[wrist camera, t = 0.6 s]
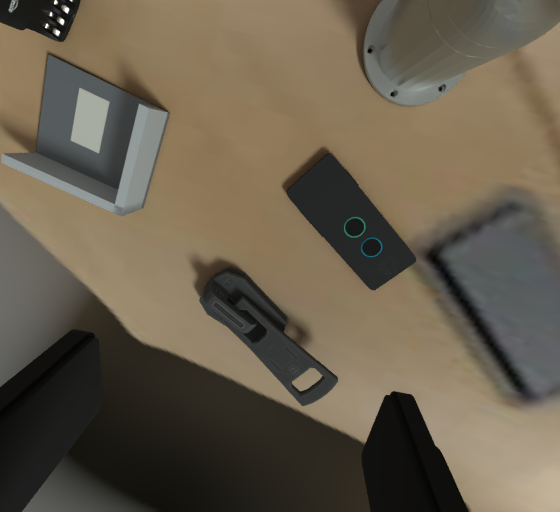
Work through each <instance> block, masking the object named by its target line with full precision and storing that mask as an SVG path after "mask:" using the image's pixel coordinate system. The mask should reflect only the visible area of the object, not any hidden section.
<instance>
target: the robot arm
mask: <svg viewBox="0 0 560 512" xmlns="http://www.w3.org/2000/svg"><path fill="white" fill-rule="evenodd" d="M559 22H560V0H382V1H381V2H380V3H379V4H378V6H377V8H376V9H375V11H374V13H373V15H372V17H371V19H370V21H369V23H368V26H367V29H366V33H365V36H364V42H363V64H364V69H365V73H366V75H367V78H368V80H369V82H370V84H371V85H372V87H373V88H374V90H375V91H376V92H377V93H378V94H379V95H380V96H381V97H382V98H384V99H386V100H387V101H389V102H391V103H394V104H397V105H401V106H417V105H422V104H426V103H429V102H431V101H433V100H436V99H438V98H440V97H441V96H443V95H445V94H446V93H447V92H449V91H450V90H451V89H452V88H453V87H454V86H455V85H456V84H457V83H458V82H459V81H460V80H461V78H462V77H463V76H464V75H465V73H466V72H467V71H468V70H470V69H473V68H475V67H477V66H480V65H482V64H484V63H486V62H489V61H491V60H493V59H496V58H498V57H500V56H502V55H505V54H507V53H509V52H512V51H514V50H516V49H518V48H520V47H523V46H525V45H527V44H529V43H531V42H532V41H534V40H536V39H537V38H539V37H541V36H542V35H544V34H545V33H547V32H548V31H549V30H551V29H552V28H553V27H555V26H556V25H557V24H558V23H559ZM369 49H371V51H372V52H371V53H370V54H369V53H368V50H369ZM439 87H440V88H441V91H439V90H438V88H439ZM391 92H393V93H394V96H393V97H392V96H391V95H390V94H391ZM101 405H102V383H101V366H100V351H99V340H98V339H96V338H95V335H94V334H93V333H91V332H86V331H81V330H75V329H74V330H71V331H70V332H68V333H67V334H66V335H64V336H63V337H62V338H61V339H60V340H58V341H57V342H56V343H55V344H53V345H52V346H51V347H50V348H48V349H47V350H46V351H45V352H43V353H42V354H41V355H40V356H38V357H37V358H36V359H35V360H33V361H32V362H31V363H30V364H28V365H27V366H26V367H25V368H24V369H22V370H21V371H20V372H18V373H17V374H16V375H15V376H14V377H12V378H11V379H10V380H9V381H7V382H6V383H5V384H4V385H2V386H1V387H0V512H22V510H23V509H24V508H25V507H26V505H27V504H28V503H29V502H30V500H31V499H32V498H33V496H34V495H35V493H36V492H37V491H38V490H39V488H40V487H41V486H42V485H43V483H44V482H45V481H46V479H47V478H48V477H49V475H50V474H51V472H52V471H53V470H54V469H55V468H56V466H57V465H58V464H59V462H60V461H61V460H62V458H63V457H64V456H65V454H66V453H67V452H68V451H69V449H70V448H71V447H72V445H73V444H74V442H75V441H76V440H77V439H78V437H79V436H80V435H81V433H82V432H83V431H84V429H85V428H86V427H87V426H88V424H89V423H90V422H91V420H92V419H93V418H94V416H95V415H96V414H97V412H98V411H99V409H100V407H101ZM362 467H363V471H364V477H365V483H366V488H367V494H368V499H369V504H370V510H371V512H468V510H467V507H466V505H465V503H464V501H463V499H462V496H461V494H460V492H459V490H458V487H457V485H456V483H455V481H454V479H453V476H452V474H451V472H450V470H449V467H448V465H447V463H446V461H445V459H444V456H443V454H442V453H441V451H440V450H439V449H438V448H437V447H436V446H435V444H434V442H433V440H432V437H431V435H430V433H429V430H428V428H427V426H426V424H425V421H424V419H423V417H422V414H421V412H420V410H419V408H418V405H417V403H416V401H415V399H414V397H413V396H412V395H411V394H406V393H400V392H395V391H393V392H391V394H390V395H386V396H385V397H384V400H383V402H382V404H381V407H380V409H379V412H378V414H377V417H376V419H375V422H374V424H373V426H372V429H371V431H370V434H369V436H368V439H367V441H366V443H365V446H364V449H363V451H362Z"/></svg>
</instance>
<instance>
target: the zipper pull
mask: <svg viewBox="0 0 560 512" xmlns="http://www.w3.org/2000/svg"><path fill="white" fill-rule="evenodd" d="M199 301H200V303H201V304H202V306H203V308H204V309H205V311H206V313H207V314H208V315H209V316H211V317H212V318H214V319H216V320H217V321H219V322H220V323H222V324H223V325H225V326H227V327H228V328H229V329H230V330H231V331H232V332H233V333H234V334H235V335H236V336H237V337H238V338H239V339H240V340H241V341H243V342H244V343H245V344H246V345H247V346H248V347H249V348H250V349H251V350H252V352H253V353H254V354H255V355H256V356H257V357H258V358H259V359H260V360H261V361H262V362H263V364H264V365H265V366H266V367H267V368H268V369H269V370H270V371H271V372H272V373H273V374H274V376H275V377H276V378H277V379H278V380H279V381H280V382H281V383H282V384H283V385H284V386H285V388H286V389H287V390H288V391H289V392H290V393H291V394H292V395H293V396H294V398H295V399H296V400H297V401H298V402H299V403H300V404H301V405H302V406H305V405H308V404H311V403H314V402H315V401H317V400H319V399H320V398H322V397H323V396H325V395H326V394H327V393H328V392H330V391H331V390H332V389H333V387H334V386H335V385H336V383H337V382H338V377H337V376H335V375H334V374H333V373H332V372H331V371H330V370H328V369H327V368H326V367H325V366H324V365H322V364H321V363H320V362H319V361H317V360H316V359H315V358H314V357H312V356H311V355H310V354H309V353H308V352H306V351H305V350H304V349H303V348H302V347H300V346H299V345H298V344H297V343H296V342H294V341H293V340H292V339H291V338H290V337H288V336H287V335H286V334H285V333H284V330H285V327H286V320H287V317H286V315H285V314H284V313H283V312H282V311H281V310H280V309H279V308H278V307H277V306H276V305H275V304H274V303H273V302H272V301H271V299H270V298H269V297H268V296H267V295H266V294H265V293H264V292H263V291H262V290H261V289H260V288H259V287H258V286H257V285H256V284H255V283H254V282H253V280H252V279H251V278H250V277H249V276H248V275H247V274H246V273H244V272H241V271H238V270H236V269H233V268H230V267H229V268H227V269H225V270H223V271H221V272H219V273H216V274H215V275H214V276H213V277H212V278H211V279H210V281H209V282H208V283H207V284H206V286H205V287H204V290H203V292H202V295H201V297H200V300H199ZM309 368H315V369H316V370H318V371H319V372H320V373H321V374H322V375H323V376H322V378H321V379H320V380H319V381H318V382H316V383H315V384H314V385H312V386H311V387H310V388H308V389H306V390H304V391H299V390H298V389H297V388H296V387H295V386H294V385H293V384H292V381H294V380H295V379H296V378H298V377H299V376H300V375H302V374H303V373H304V372H305V371H307V370H308V369H309Z"/></svg>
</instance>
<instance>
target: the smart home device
mask: <svg viewBox="0 0 560 512" xmlns="http://www.w3.org/2000/svg"><path fill="white" fill-rule="evenodd" d="M287 195H288V197H289V199H290V200H291V201H292V202H293V203H294V204H295V205H296V207H297V208H298V209H299V210H300V212H301V213H302V214H303V215H304V216H305V218H306V219H307V220H308V221H309V222H310V223H311V224H312V225H313V227H314V228H315V229H316V230H317V231H318V232H319V233H320V234H321V236H322V237H324V238H325V239H326V240H327V241H328V243H329V244H330V245H331V246H332V247H333V248H334V249H335V250H336V252H337V253H338V254H339V255H340V256H341V257H342V258H343V259H344V261H345V262H346V263H347V264H348V265H349V266H350V267H351V268H352V270H353V271H354V272H355V273H356V274H357V275H358V276H359V277H360V279H361V280H362V281H363V282H364V283H365V284H366V285H367V286H368V287H369V288H370V289H371V290H376V289H377V288H379V287H380V286H382V285H383V284H385V283H386V282H387V281H389V280H390V279H392V278H393V277H395V276H396V275H398V274H399V273H400V272H402V271H403V270H405V269H406V268H408V267H409V266H411V265H412V264H413V263H415V262H416V258H415V256H414V254H413V253H412V252H411V251H410V249H409V248H408V247H407V246H406V244H405V243H404V242H403V241H402V239H401V238H400V237H399V236H398V235H397V233H396V232H395V231H394V230H393V228H392V227H391V226H390V225H389V223H388V222H387V221H386V220H385V218H384V217H383V216H382V215H381V214H380V212H379V211H378V210H377V209H376V207H375V206H374V205H373V204H372V202H371V201H370V200H369V199H368V198H367V196H366V195H365V194H364V193H363V191H362V190H361V189H360V188H359V186H358V184H357V182H356V181H355V180H354V179H353V178H352V176H351V175H350V174H349V173H348V171H346V170H345V169H344V168H343V167H342V165H341V164H340V163H339V162H338V161H337V159H336V158H335V157H334V156H332V155H331V154H327V155H325V156H324V157H323V158H322V159H321V160H320V161H319V162H318V163H317V164H316V165H314V166H313V167H312V168H311V169H310V170H309V171H308V172H307V173H306V174H305V175H303V176H302V177H301V178H300V179H299V180H298V181H297V182H296V183H295V184H294V185H292V186H291V187H290V188H289V189H288V190H287Z"/></svg>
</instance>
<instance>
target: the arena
mask: <svg viewBox="0 0 560 512" xmlns="http://www.w3.org/2000/svg"><path fill="white" fill-rule="evenodd" d="M169 114H170V113H169V112H167V111H165V110H163V109H161V108H159V107H157V106H154V105H152V104H150V103H148V102H146V101H144V100H142V99H140V98H138V97H136V96H134V95H132V94H130V93H128V92H126V91H124V90H122V89H120V88H117V87H115V86H113V85H111V84H109V83H107V82H105V81H103V80H101V79H99V78H97V77H95V76H93V75H91V74H89V73H87V72H85V71H82V70H80V69H78V68H76V67H74V66H72V65H70V64H68V63H66V62H64V61H62V60H60V59H58V58H56V57H54V56H52V55H49V54H48V60H47V68H46V76H45V84H44V92H43V99H42V107H41V115H40V123H39V131H38V139H37V147H36V152H33V153H5V154H2V160H1V163H3V164H5V165H7V166H10V167H12V168H14V169H16V170H19V171H21V172H23V173H25V174H28V175H30V176H32V177H34V178H37V179H39V180H41V181H43V182H46V183H48V184H50V185H52V186H54V187H57V188H59V189H61V190H63V191H66V192H68V193H70V194H72V195H75V196H77V197H79V198H81V199H84V200H86V201H88V202H90V203H92V204H95V205H97V206H99V207H101V208H104V209H106V210H108V211H110V212H113V213H115V214H117V215H119V216H124V215H126V214H129V213H131V212H134V211H136V210H139V209H141V208H143V207H144V203H145V200H146V196H147V192H148V189H149V185H150V182H151V178H152V175H153V171H154V167H155V164H156V160H157V157H158V153H159V150H160V146H161V142H162V139H163V135H164V132H165V128H166V125H167V121H168V118H169Z"/></svg>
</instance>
